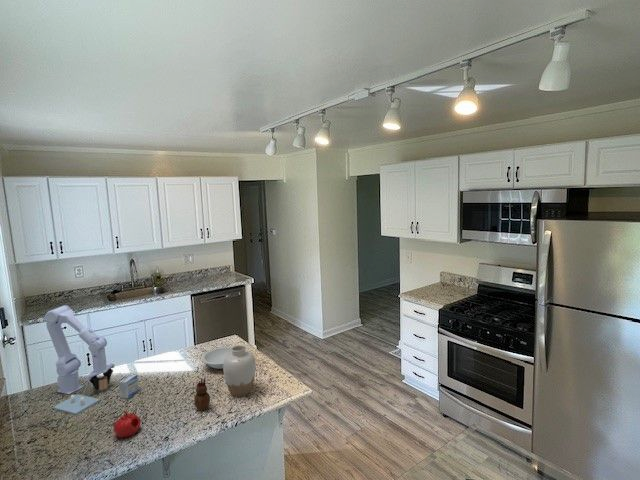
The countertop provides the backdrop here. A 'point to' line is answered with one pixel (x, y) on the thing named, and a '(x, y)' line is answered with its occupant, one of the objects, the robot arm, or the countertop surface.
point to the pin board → (76, 404)
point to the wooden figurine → (201, 396)
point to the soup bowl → (216, 356)
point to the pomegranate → (127, 425)
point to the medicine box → (129, 386)
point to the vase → (239, 371)
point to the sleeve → (103, 384)
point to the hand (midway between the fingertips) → (102, 386)
